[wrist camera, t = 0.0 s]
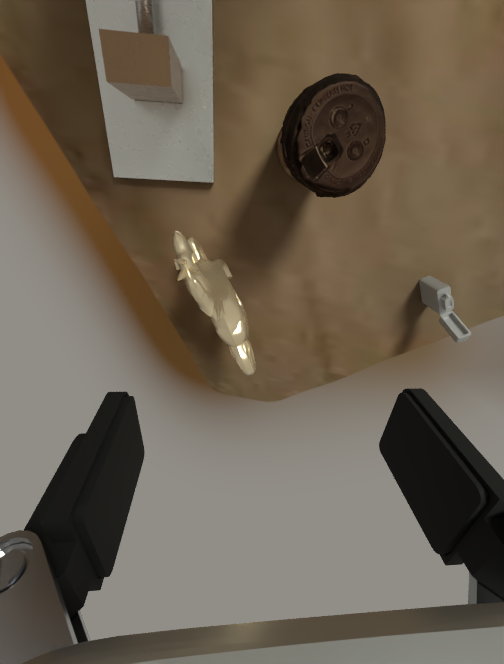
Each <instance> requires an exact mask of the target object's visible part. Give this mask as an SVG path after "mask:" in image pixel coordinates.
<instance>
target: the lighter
mask: <svg viewBox="0 0 504 664" xmlns="http://www.w3.org/2000/svg"><path fill="white" fill-rule="evenodd" d="M419 285H420V292H421V299H422V303H424V304H425V305H427V306H428V307H430V308H431V309H432V310H434V311H435V312H437V313H438V314H440V315H441V317H440V319H439V322H440V323H441V325H442V326H443V327H444V328H445V330H446V331H447V332H448V334H449V335H450V336H451V337H452V338H453V340H454V341H455V342H456V343H459V342H462V341H465V340H467V339H469V337H470V335H471V332H470V331H469V330H468V328H467V327H466V326H465V325H464V324H463V323H462V321H461V320H460V319H459V318H458V317H457V316H456V314H455V313H454V312H453V311H452V309H453V308H454V301H453V297H452V296H451V289H450V286H448V285H446V284H445V283H443V282H441V281H439V280H437V279H435V278H434V277H432V276H430V275H429V276H427V277H424V278H422V279H420V280H419Z"/></svg>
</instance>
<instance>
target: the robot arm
mask: <svg viewBox="0 0 504 664" xmlns="http://www.w3.org/2000/svg"><path fill="white" fill-rule="evenodd" d="M379 447H380V452H381V454H382V456H383V457H384V459H385V461H386V463H387V465H388V467H389V469H390V471H391V472H392V474H393V476H394V478H395V480H396V482H397V484H398V485H399V487H400V489H401V491H402V493H403V495H404V496H405V498H406V500H407V502H408V504H409V506H410V508H411V509H412V511H413V513H414V515H415V517H416V519H417V521H418V523H419V524H420V526H421V528H422V530H423V532H424V534H425V536H426V537H427V539H428V541H429V543H430V545H431V547H432V548H433V550H434V551H435V552H436V553H437V554H440V556H441V558H442V560H443V562H444V563H445V565H458V564H463V563H464V564H465V565H466V567H467V569H468V570H469V591H468V604H466V605H455V606H442V607H430V608H417V609H405V610H392V611H381V612H368V613H356V614H344V615H333V616H321V617H310V618H298V619H287V620H276V621H264V622H253V623H243V624H232V625H220V626H210V627H198V628H188V629H178V630H170V631H160V632H151V633H142V634H134V635H124V636H116V637H110V638H104V639H99V640H93V641H90V638H89V635H88V632H87V629H86V627H85V624H84V621H83V618H82V615H81V613H80V609H81V608H82V607H83V606H84V603H85V600H86V597H87V594H88V591H95V590H100V589H101V586H102V582H103V579H104V577H109V576H110V574H111V572H112V570H113V566H114V563H115V559H116V556H117V552H118V549H119V545H120V541H121V538H122V534H123V531H124V527H125V524H126V520H127V516H128V513H129V510H130V506H131V502H132V499H133V495H134V492H135V488H136V485H137V481H138V477H139V474H140V470H141V467H142V463H143V459H144V445H143V441H142V435H141V431H140V425H139V420H138V415H137V410H136V405H135V400H134V397H133V396H129V395H128V393H127V392H108V393H107V394H106V396H105V398H104V400H103V402H102V404H101V406H100V408H99V410H98V412H97V414H96V416H95V417H94V419H93V421H92V423H91V425H90V427H89V429H88V431H87V432H86V434H79V435H78V436H77V437H76V438H75V439H74V441H73V442H72V444H71V446H70V448H69V450H68V452H67V453H66V455H65V457H64V459H63V461H62V462H61V464H60V466H59V468H58V469H57V471H56V473H55V475H54V477H53V478H52V480H51V482H50V484H49V486H48V487H47V489H46V491H45V493H44V495H43V497H42V498H41V500H40V502H39V504H38V506H37V507H36V509H35V511H34V513H33V514H32V516H31V518H30V520H29V522H28V523H27V525H26V527H25V529H24V531H21V530H19V531H16V532H11V533H8V534H6V535H4V536H2V537H0V664H504V480H503V478H502V477H501V476H500V475H499V474H498V473H497V472H496V471H495V469H494V468H493V467H492V466H491V465H490V464H489V462H488V461H487V460H486V459H485V458H484V457H483V456H482V454H481V453H480V452H479V451H478V450H477V449H476V448H475V447H474V445H473V444H472V443H471V442H470V441H469V440H468V439H467V438H466V436H465V435H464V434H463V433H462V432H461V431H460V430H459V429H458V427H457V426H456V425H455V424H454V423H453V422H452V421H451V419H450V418H449V417H448V416H447V415H446V414H445V413H444V411H443V410H442V409H441V408H440V407H439V406H438V405H437V403H436V402H435V401H434V400H433V399H432V398H431V397H430V396H429V394H428V393H427V392H426V391H425V390H423V389H405V390H403V392H402V393H400V394H399V395H398V397H397V400H396V403H395V405H394V408H393V410H392V412H391V415H390V417H389V420H388V422H387V425H386V427H385V430H384V432H383V435H382V437H381V440H380V443H379Z"/></svg>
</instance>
